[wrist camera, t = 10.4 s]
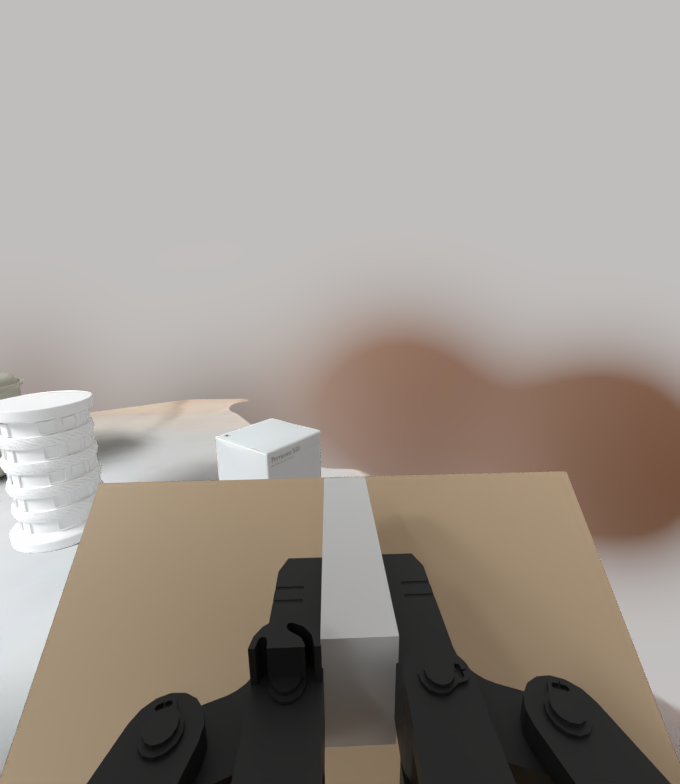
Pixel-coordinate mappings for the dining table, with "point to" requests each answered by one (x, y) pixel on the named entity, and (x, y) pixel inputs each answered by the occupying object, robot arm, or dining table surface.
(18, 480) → the decorative container
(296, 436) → the supplement box
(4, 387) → the canister
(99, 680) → the carton flap
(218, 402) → the dining table surface
